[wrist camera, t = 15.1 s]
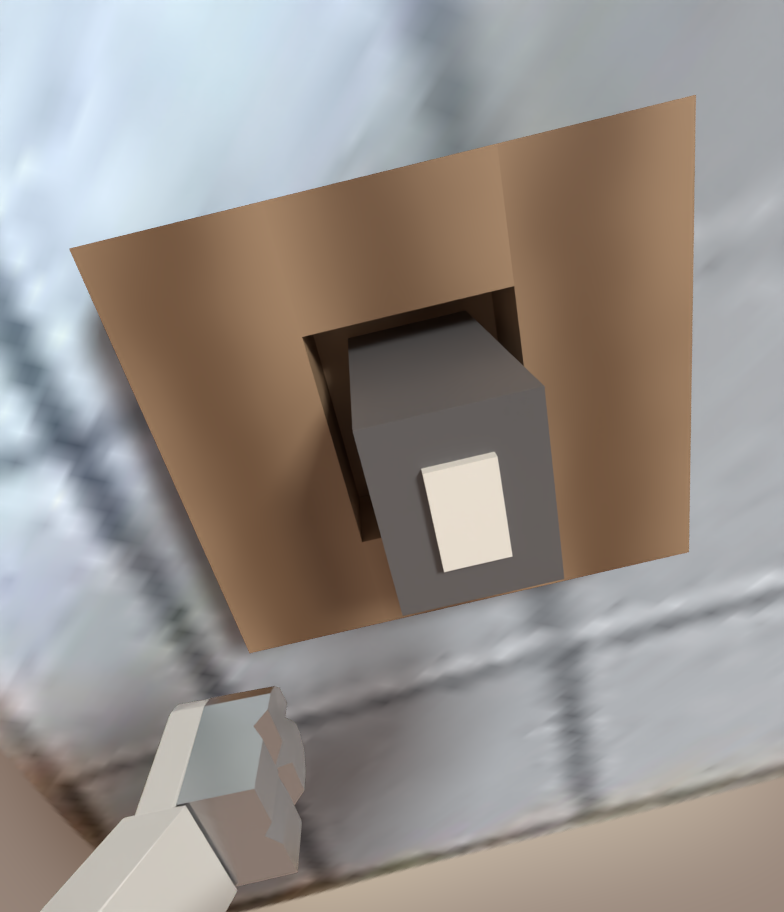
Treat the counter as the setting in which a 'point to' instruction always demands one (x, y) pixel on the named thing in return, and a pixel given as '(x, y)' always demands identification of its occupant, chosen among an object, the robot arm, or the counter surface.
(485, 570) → the block
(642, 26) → the counter surface
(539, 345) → the dock
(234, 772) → the robot arm
